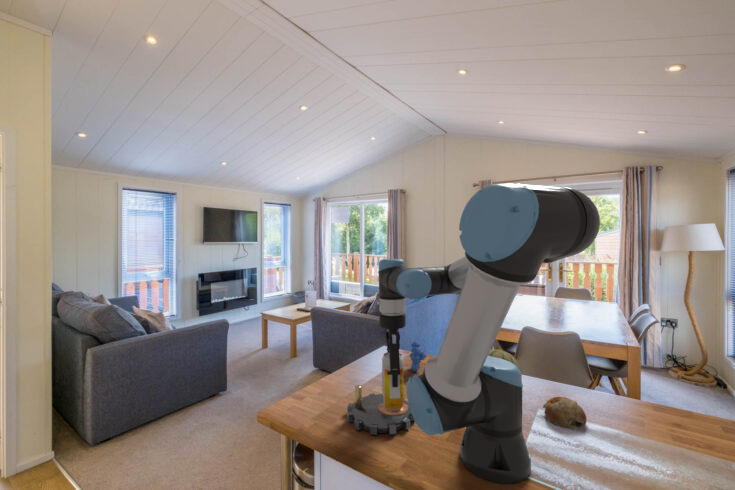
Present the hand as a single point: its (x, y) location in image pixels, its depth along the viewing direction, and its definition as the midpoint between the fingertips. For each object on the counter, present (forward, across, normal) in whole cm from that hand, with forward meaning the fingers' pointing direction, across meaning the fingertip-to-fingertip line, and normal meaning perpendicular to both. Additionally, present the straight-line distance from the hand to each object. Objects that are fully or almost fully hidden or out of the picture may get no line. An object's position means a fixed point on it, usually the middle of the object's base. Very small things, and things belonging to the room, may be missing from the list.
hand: (393, 387), depth 97 cm
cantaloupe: (+9, -15, +35) cm, 39 cm away
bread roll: (+9, +1, +48) cm, 49 cm away
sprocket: (+9, 0, -4) cm, 10 cm away
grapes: (+9, -34, +12) cm, 37 cm away
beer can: (+6, 0, 0) cm, 6 cm away
